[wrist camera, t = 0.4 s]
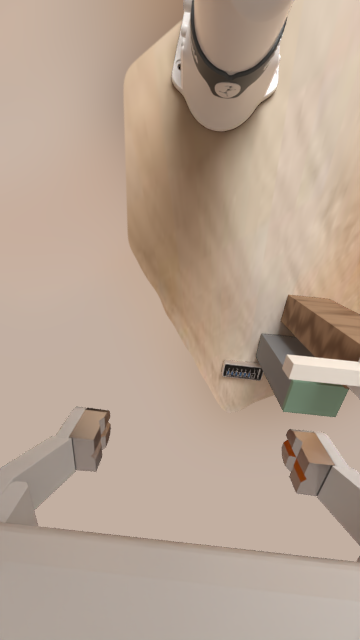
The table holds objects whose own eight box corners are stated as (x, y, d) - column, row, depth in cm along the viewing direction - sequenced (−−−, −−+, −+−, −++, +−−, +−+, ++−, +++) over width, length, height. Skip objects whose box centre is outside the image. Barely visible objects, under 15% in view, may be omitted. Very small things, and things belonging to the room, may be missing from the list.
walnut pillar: (288, 294, 54) (364, 347, 30) (329, 298, 54) (438, 355, 30) (280, 321, 57) (345, 388, 33) (319, 325, 57) (413, 395, 33)
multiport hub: (223, 358, 62) (224, 363, 60) (262, 363, 62) (265, 367, 60) (220, 371, 64) (221, 376, 62) (258, 376, 64) (261, 381, 62)
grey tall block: (261, 333, 59) (293, 381, 40) (299, 337, 58) (349, 387, 40) (255, 356, 61) (283, 411, 43) (292, 360, 61) (335, 417, 43)
